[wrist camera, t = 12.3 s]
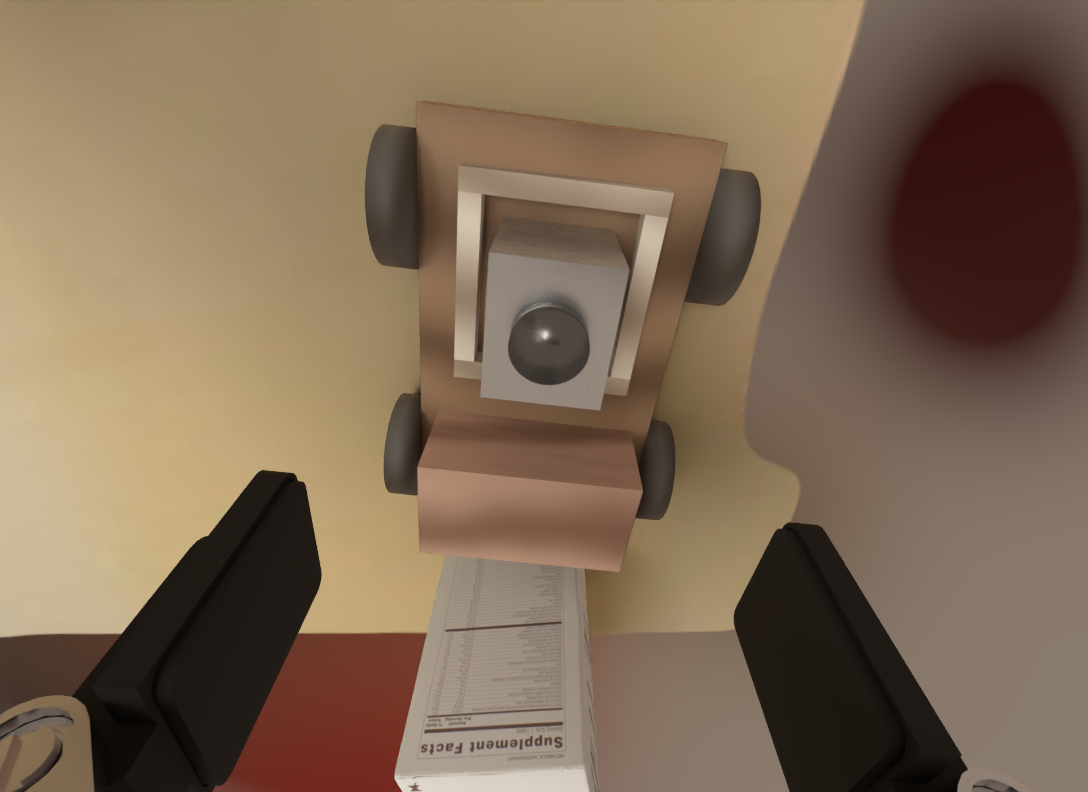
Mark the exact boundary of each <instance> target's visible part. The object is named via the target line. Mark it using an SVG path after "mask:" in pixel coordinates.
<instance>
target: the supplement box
mask: <svg viewBox="0 0 1088 792" xmlns="http://www.w3.org/2000/svg"><path fill="white" fill-rule="evenodd" d="M395 780H396V782H397V784H398V785H399V787H400V788H401V790H402V792H599V778H598V762H597V748H596V732H595V716H594V700H593V686H592V672H591V658H590V644H589V629H588V615H587V599H586V577H585V569H583V568H573V567H563V566H553V565H543V564H532V563H522V562H512V561H502V560H492V559H482V558H472V557H462V556H452V555H445V558H444V563H443V567H442V571H441V576H440V580H439V584H438V589H437V593H436V597H435V601H434V606H433V610H432V614H431V619H430V623H429V628H428V632H427V637H426V641H425V645H424V649H423V654H422V658H421V662H420V667H419V671H418V675H417V679H416V684H415V688H414V693H413V697H412V701H411V705H410V709H409V714H408V718H407V722H406V727H405V731H404V736H403V740H402V744H401V748H400V753H399V756H398V761H397V765H396V770H395Z"/></svg>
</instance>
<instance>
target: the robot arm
mask: <svg viewBox="0 0 1088 792" xmlns="http://www.w3.org/2000/svg"><path fill="white" fill-rule="evenodd" d="M321 575H322V574H321V567H320V561H319V556H318V550H317V545H316V539H315V534H314V528H313V523H312V518H311V512H310V507H309V501H308V496H307V490H306V486H305V483H304V482H300V481H298V480H297V477H296V475H295V474H294V473H286V472H276V471H266V470H262V471H260V472H258V473H257V474H256V475H255V477H254V478H253V479H252V480H251V482H250V483H249V484H248V486H247V487H246V488H245V489H244V491H243V492H242V493H241V495H240V496H239V497H238V498H237V500H236V501H235V502H234V504H233V505H232V506H231V507H230V509H229V510H228V511H227V513H226V514H225V515H224V516H223V518H222V519H221V520H220V521H219V523H218V524H217V525H216V527H215V528H214V529H213V530H212V532H211V533H210V534H209V536H205V537H203V538H201V539H200V540H198V541H197V542H196V543H195V544H194V545H193V546H192V547H191V548H190V549H189V550H188V552H187V553H186V554H185V555H184V557H183V558H182V559H181V560H180V562H179V563H178V564H177V565H176V567H175V568H174V569H173V570H172V572H171V573H170V574H169V575H168V577H167V578H166V579H165V580H164V582H163V583H162V584H161V585H160V587H159V588H158V589H157V590H156V592H155V593H154V594H153V595H152V597H151V598H150V599H149V600H148V602H147V603H146V604H145V605H144V607H143V608H142V609H141V610H140V612H139V613H138V614H137V615H136V617H135V618H134V619H133V621H132V622H131V623H130V624H129V626H128V627H127V628H126V629H125V631H124V632H123V633H122V634H121V636H120V637H119V638H118V640H117V641H116V642H115V643H114V644H113V646H112V647H111V648H110V649H109V651H108V652H107V653H106V654H105V656H104V657H103V658H102V659H101V661H100V662H99V663H98V665H97V666H96V667H95V668H94V670H93V671H92V672H91V673H90V674H89V676H88V677H87V678H86V679H85V681H84V682H83V683H82V684H81V686H80V687H79V688H78V690H77V691H76V692H75V693H74V695H73V696H72V697H67V696H62V695H55V696H48V697H41V698H37V699H34V700H31V701H28V702H25V703H23V704H20V705H17V706H15V707H13V708H11V709H9V710H8V711H6V712H4V713H2V714H0V792H212V791H213V789H214V787H215V785H216V786H220V785H223V784H224V783H225V782H226V781H227V779H228V778H229V776H230V775H231V773H232V771H233V769H234V767H235V765H236V763H237V761H238V759H239V756H240V754H241V752H242V750H243V748H244V746H245V743H246V742H247V740H248V737H249V735H250V733H251V731H252V729H253V727H254V725H255V723H256V721H257V718H258V716H259V714H260V712H261V710H262V708H263V706H264V704H265V702H266V699H267V697H268V695H269V693H270V691H271V689H272V687H273V685H274V682H275V680H276V678H277V676H278V674H279V672H280V670H281V668H282V665H283V663H284V661H285V659H286V657H287V655H288V653H289V651H290V649H291V646H292V645H293V642H294V640H295V638H296V636H297V634H298V632H299V630H300V628H301V626H302V623H303V621H304V619H305V617H306V615H307V613H308V611H309V609H310V607H311V604H312V602H313V600H314V598H315V596H316V594H317V592H318V589H319V586H320V582H321ZM734 626H735V629H736V632H737V635H738V638H739V641H740V644H741V647H742V650H743V653H744V656H745V659H746V662H747V665H748V668H749V671H750V674H751V677H752V680H753V683H754V686H755V689H756V692H757V695H758V698H759V701H760V704H761V707H762V710H763V713H764V716H765V719H766V722H767V725H768V728H769V731H770V734H771V737H772V740H773V743H774V746H775V749H776V752H777V755H778V758H779V761H780V764H781V767H782V770H783V773H784V776H785V779H786V782H787V785H788V788H789V791H790V792H1031V791H1030V790H1029V789H1027V788H1026V787H1025V786H1023V785H1022V784H1021V783H1019V782H1018V781H1016V780H1014V779H1012V778H1010V777H1009V776H1007V775H1005V774H1003V773H1001V772H998V771H995V770H991V769H988V768H985V767H981V768H970V769H969V770H968V769H967V767H966V765H965V764H964V762H963V761H962V759H961V757H960V756H961V753H960V751H959V750H958V748H957V747H956V745H955V743H954V742H953V740H952V738H951V737H950V735H949V734H948V732H947V730H946V729H945V727H944V726H943V724H942V722H941V720H940V719H939V717H938V716H937V714H936V712H935V711H934V709H933V707H932V706H931V704H930V702H929V701H928V699H927V697H926V696H925V694H924V693H923V691H922V689H921V688H920V686H919V684H918V683H917V681H916V679H915V678H914V676H913V675H912V673H911V671H910V670H909V668H908V666H907V665H906V663H905V661H904V660H903V658H902V657H901V655H900V653H899V652H898V650H897V648H896V647H895V645H894V643H893V642H892V640H891V639H890V637H889V635H888V634H887V632H886V630H885V629H884V627H883V625H882V624H881V622H880V621H879V619H878V618H877V616H876V614H875V612H874V611H873V609H872V608H871V606H870V604H869V603H868V601H867V599H866V598H865V596H864V594H863V593H862V591H861V590H860V588H859V586H858V585H857V583H856V581H855V580H854V578H853V576H852V575H851V573H850V571H849V570H848V568H847V567H846V566H845V563H844V562H843V560H842V558H841V557H840V555H839V554H838V552H837V550H836V549H835V547H834V545H833V544H832V542H831V541H830V539H829V537H828V536H827V534H826V532H825V531H824V530H823V528H822V527H820V526H818V525H810V524H801V523H789V522H788V523H787V524H785V525H784V527H783V528H782V529H777V530H776V531H775V533H774V535H773V536H772V538H771V540H770V542H769V544H768V546H767V548H766V550H765V552H764V554H763V556H762V558H761V560H760V562H759V564H758V566H757V568H756V570H755V572H754V574H753V576H752V578H751V580H750V581H749V583H748V585H747V587H746V589H745V591H744V593H743V595H742V597H741V599H740V601H739V603H738V605H737V607H736V609H735V612H734Z"/></svg>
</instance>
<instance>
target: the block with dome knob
mask: <svg viewBox="0 0 1088 792" xmlns="http://www.w3.org/2000/svg"><path fill="white" fill-rule="evenodd" d="M629 270H630V269H629V267H628V264H627V262H626V259H625V257H624V254H623V252H622V249H621V247H620V244H619V242H618V240H617V237H616V235H615V232H614V230H610V229H602V228H594V227H586V226H578V225H570V224H562V223H555V222H547V221H539V220H531V219H523V218H515V217H507V216H505V217H504V219H503V221H502V224H501V226H500V228H499V230H498V233H497V235H496V237H495V239H494V242H493V244H492V246H491V249H490V251H489V258H488V275H487V292H486V309H485V326H484V344H483V361H482V378H481V395H480V397H484V398H493V399H502V400H511V401H519V402H528V403H537V404H546V405H555V406H564V407H573V408H582V409H590V410H599V411H600V408H601V404H602V399H603V394H604V389H605V385H606V380H607V375H608V370H609V366H610V361H611V356H612V351H613V347H614V342H615V337H616V332H617V328H618V323H619V318H620V313H621V309H622V304H623V299H624V294H625V289H626V285H627V280H628V275H629Z"/></svg>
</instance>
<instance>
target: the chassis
mask: <svg viewBox="0 0 1088 792" xmlns="http://www.w3.org/2000/svg"><path fill="white" fill-rule="evenodd" d="M727 144H728V143H724V142H721V141H717V140H713V139H706V138H698V137H691V136H683V135H676V134H668V133H661V132H653V131H646V130H638V129H631V128H623V127H616V126H608V125H601V124H593V123H586V122H578V121H571V120H563V119H556V118H548V117H541V116H533V115H526V114H518V113H511V112H503V111H496V110H488V109H481V108H473V107H466V106H458V105H451V104H443V103H436V102H428V101H424V102H416V128H410V127H403V126H395V125H387V124H383V125H381V126H380V127H379V128H378V129H377V131H376V133H375V135H374V137H373V140H372V143H371V146H370V150H369V155H368V161H367V169H366V180H365V208H366V221H367V228H368V234H369V239H370V243H371V247H372V250H373V253H374V255H375V257H376V259H377V260H378V262H379V263H380V264H382V265H384V266H392V267H401V268H409V269H419V311H420V370H421V395H416V394H407V393H403V394H402V395H400V397H399V398H398V400H397V402H396V404H395V406H394V409H393V412H392V415H391V418H390V422H389V426H388V431H387V437H386V443H385V452H384V480H385V485H386V488H387V490H388V492H390V493H398V494H407V495H418V516H419V552H421V553H431V554H441V555H452V556H462V557H472V558H482V559H492V560H502V561H512V562H522V563H532V564H543V565H553V566H563V567H573V568H583V569H593V570H603V571H613V572H619V571H620V568H621V565H622V561H623V558H624V554H625V551H626V548H627V544H628V541H629V537H630V534H631V530H632V527H633V524H634V520H635V518H640V519H650V520H660V519H661V518H662V517H663V516H664V514H665V512H666V510H667V508H668V505H669V502H670V499H671V494H672V489H673V483H674V474H675V446H674V439H673V434H672V431H671V428H670V426H669V425H668V424H667V423H666V422H660V421H651V419H652V416H653V412H654V408H655V405H656V401H657V397H658V394H659V390H660V387H661V383H662V379H663V376H664V372H665V368H666V365H667V361H668V358H669V354H670V350H671V347H672V343H673V340H674V336H675V332H676V329H677V325H678V321H679V318H680V314H681V311H682V307H683V303H684V301H685V302H691V303H700V304H708V305H716V306H720V305H723V304H725V303H726V302H727V301H729V300H730V298H731V297H732V296H733V295H734V293H735V292H736V291H737V289H738V287H739V286H740V284H741V282H742V280H743V278H744V276H745V273H746V271H747V269H748V266H749V263H750V260H751V257H752V254H753V251H754V247H755V243H756V239H757V234H758V228H759V222H760V212H761V195H760V187H759V184H758V181H757V178H756V177H755V175H754V174H753V173H751V172H746V171H738V170H730V169H723V168H721V166H722V162H723V159H724V155H725V151H726V148H727ZM505 216H507V217H515V218H523V219H531V220H539V221H547V222H555V223H562V224H570V225H578V226H586V227H594V228H602V229H610V230H614V232H615V235H616V237H617V240H618V242H619V244H620V247H621V249H622V252H623V254H624V257H625V259H626V262H627V264H628V267H629V269H630V270H629V275H628V280H627V285H626V289H625V294H624V299H623V304H622V309H621V313H620V318H619V323H618V328H617V332H616V337H615V342H614V347H613V351H612V356H611V361H610V366H609V370H608V375H607V380H606V385H605V389H604V394H603V399H602V404H601V408H600V411H599V410H590V409H582V408H573V407H564V406H555V405H546V404H537V403H528V402H519V401H511V400H502V399H493V398H484V397H480V395H481V378H482V361H483V344H484V326H485V309H486V292H487V275H488V258H489V251H490V249H491V246H492V244H493V242H494V239H495V237H496V235H497V233H498V230H499V228H500V226H501V224H502V221H503V219H504V217H505Z"/></svg>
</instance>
